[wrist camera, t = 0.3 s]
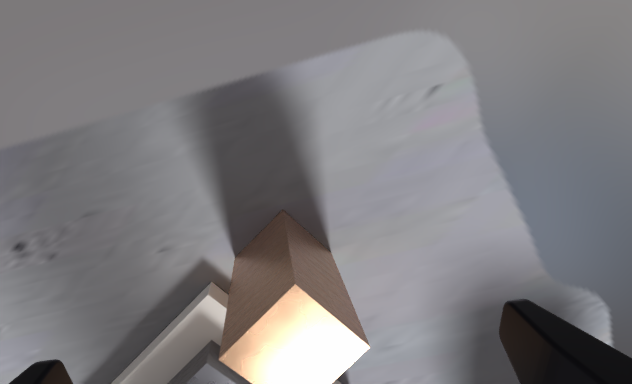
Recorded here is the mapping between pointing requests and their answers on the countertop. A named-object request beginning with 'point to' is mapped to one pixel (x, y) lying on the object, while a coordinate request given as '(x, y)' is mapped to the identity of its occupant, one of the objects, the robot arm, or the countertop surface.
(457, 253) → the countertop surface
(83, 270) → the countertop surface
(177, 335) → the collar plate
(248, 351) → the wooden square prism
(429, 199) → the countertop surface
